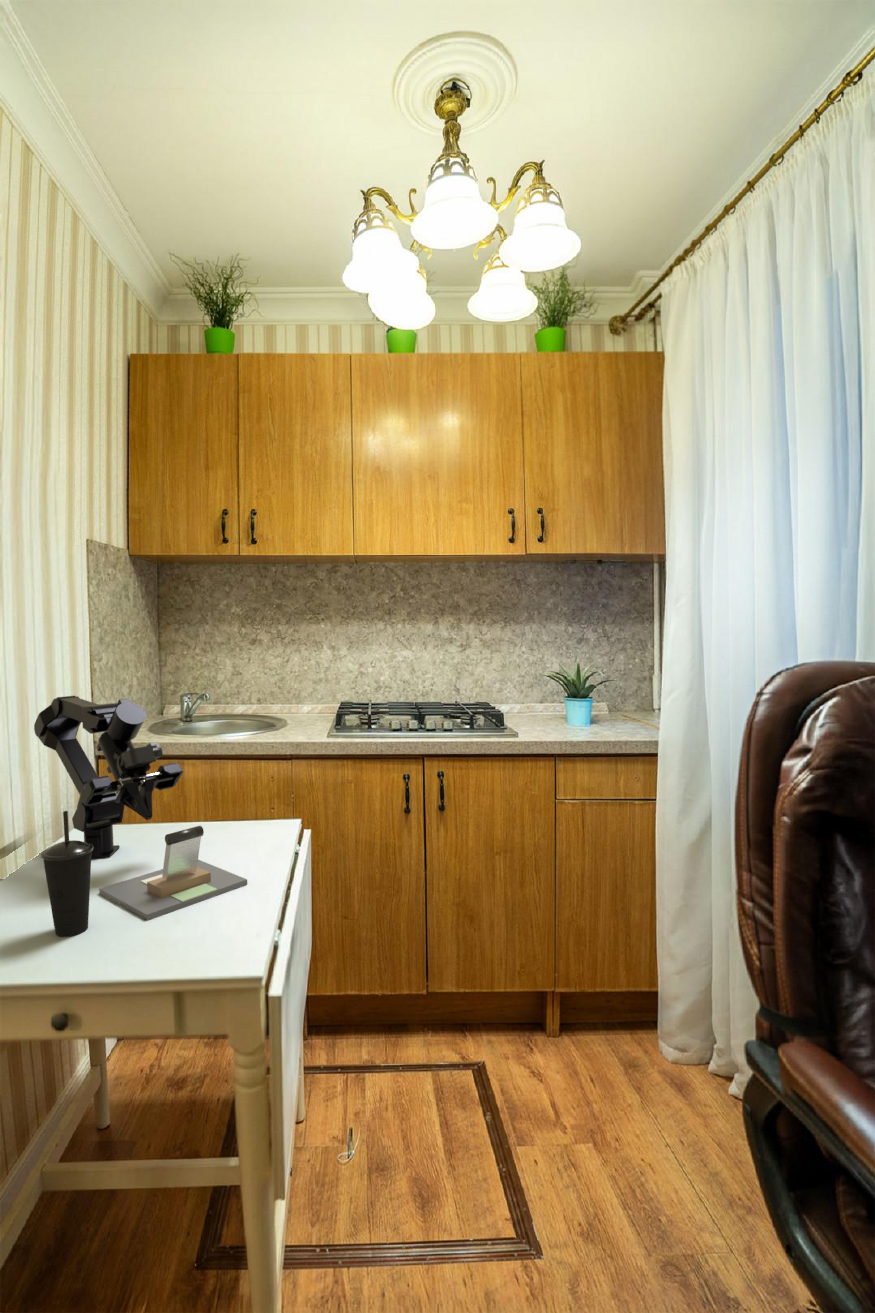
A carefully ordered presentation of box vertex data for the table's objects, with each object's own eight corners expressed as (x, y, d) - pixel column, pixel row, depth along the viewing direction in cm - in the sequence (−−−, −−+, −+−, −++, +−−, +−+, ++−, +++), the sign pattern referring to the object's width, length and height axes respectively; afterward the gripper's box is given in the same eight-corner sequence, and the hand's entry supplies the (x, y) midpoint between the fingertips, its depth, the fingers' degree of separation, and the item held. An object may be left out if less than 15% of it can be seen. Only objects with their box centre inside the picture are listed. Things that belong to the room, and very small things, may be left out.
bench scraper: (160, 876, 131) (165, 832, 129) (192, 866, 136) (198, 823, 134) (165, 881, 130) (171, 837, 128) (198, 871, 135) (204, 828, 133)
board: (99, 893, 133) (98, 879, 133) (196, 863, 148) (196, 850, 148) (147, 920, 121) (146, 904, 121) (247, 884, 136) (246, 870, 136)
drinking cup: (57, 921, 121) (51, 805, 120) (104, 919, 122) (98, 804, 121) (36, 942, 114) (29, 819, 112) (86, 939, 114) (79, 817, 113)
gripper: (85, 737, 134) (114, 806, 128) (177, 724, 148) (207, 785, 142) (69, 772, 140) (96, 839, 134) (159, 756, 154) (187, 816, 148)
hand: (149, 818), depth 139 cm, fingers closed
